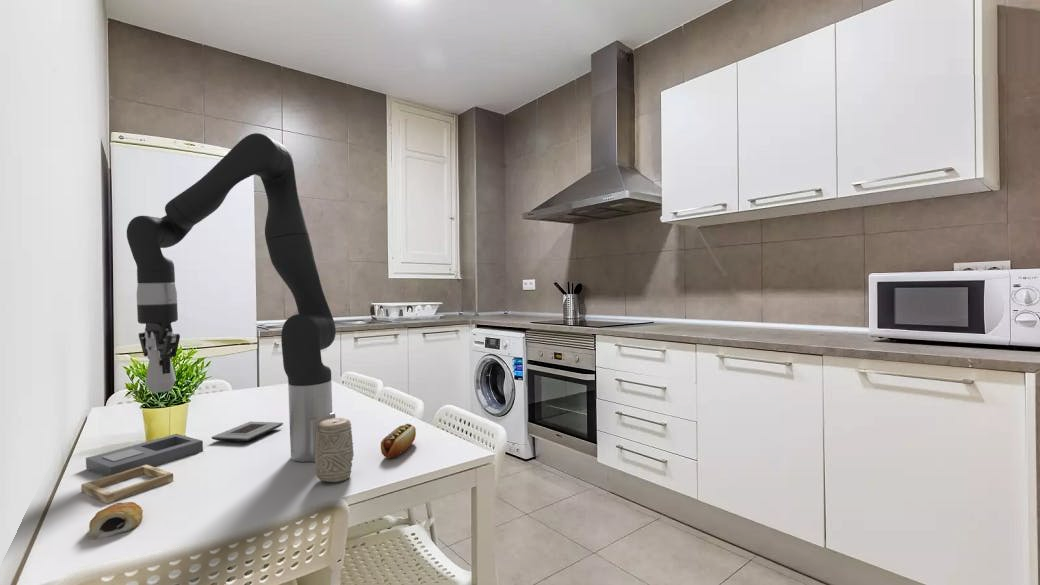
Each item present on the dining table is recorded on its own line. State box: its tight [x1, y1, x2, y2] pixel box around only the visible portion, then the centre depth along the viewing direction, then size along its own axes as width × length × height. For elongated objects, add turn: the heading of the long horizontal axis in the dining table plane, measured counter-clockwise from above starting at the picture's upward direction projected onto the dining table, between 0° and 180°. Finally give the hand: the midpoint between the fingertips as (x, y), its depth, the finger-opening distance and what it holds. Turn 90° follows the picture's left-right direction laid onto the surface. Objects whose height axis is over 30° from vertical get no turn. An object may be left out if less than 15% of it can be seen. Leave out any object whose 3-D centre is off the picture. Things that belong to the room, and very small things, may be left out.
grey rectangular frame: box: [85, 433, 204, 477], centre depth 110 cm, size 12×18×3 cm, turn 151°
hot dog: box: [380, 423, 417, 459], centre depth 112 cm, size 5×13×5 cm, turn 171°
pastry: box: [87, 501, 144, 540], centre depth 81 cm, size 9×7×4 cm
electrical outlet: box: [211, 421, 284, 442], centre depth 126 cm, size 13×10×2 cm
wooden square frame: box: [80, 465, 174, 504], centre depth 96 cm, size 11×11×2 cm
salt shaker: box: [144, 337, 177, 394], centre depth 112 cm, size 6×6×13 cm
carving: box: [314, 417, 355, 483], centre depth 97 cm, size 6×8×12 cm
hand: (160, 375), depth 112 cm, fingers closed on salt shaker, 3 cm apart
